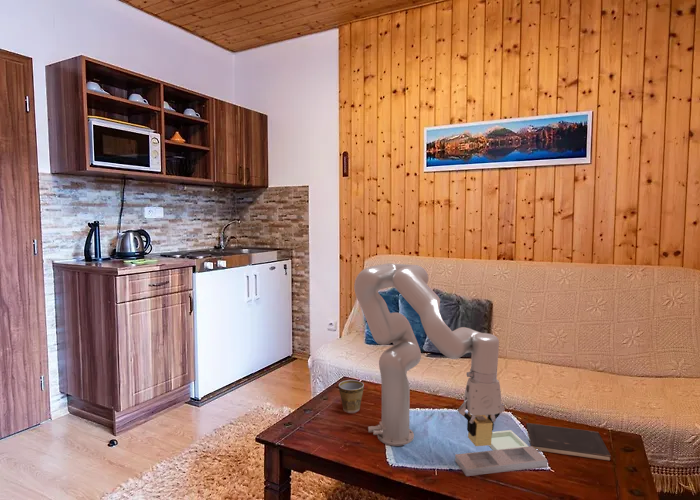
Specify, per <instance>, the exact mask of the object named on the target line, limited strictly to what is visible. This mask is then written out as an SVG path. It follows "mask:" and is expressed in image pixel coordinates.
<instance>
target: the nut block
mask: <svg viewBox="0 0 700 500" xmlns="http://www.w3.org/2000/svg"><path fill="white" fill-rule="evenodd" d="M474 423H475V435H474V436H472V435H471V434H470V433H469V432H468V431H467V432H468V433H467V438H468V439H469V440H470V441H471V443H472V444H473V445H474V446H475V447H485V446H489V445H491V439H492V432H493V430H492V424H493V423H492V422H491V421H490V420H489V419H488V418H487V417H486V416H485V415H479V416H476V417H475V420H474Z"/></svg>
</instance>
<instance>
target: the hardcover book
mask: <svg viewBox="0 0 700 500" xmlns="http://www.w3.org/2000/svg"><path fill="white" fill-rule="evenodd" d="M525 423H526V424H525V427H526V428H527V433H528V439H529V438H530V439H529V442H530V446H532V447H533V448H535V449H538V450H541V451H540V452H546V453H547V452H548V453H554V454H561V455H568V456H575V457H580V458H581V457H582V458H589V459H597V460H603V461H610V460H611V457H612V455H611V453H610V451H609V450H608V448H607V446H606V444H605V441H604V440H603V438H602V436H601V435H600V432H599V431H594V430H587V429H586V430H585V429H579V428H571V427H564V426H563V427H562V426H557V425H556V426H555V425H546V424H541V423H533V422H532V423H530V422H525ZM538 450H537V451H538Z"/></svg>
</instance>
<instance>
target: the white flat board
mask: <svg viewBox="0 0 700 500" xmlns="http://www.w3.org/2000/svg"><path fill="white" fill-rule="evenodd" d="M454 456H455V457H454V462H456V464H457V465H458V467H459V468H460V469H461V471H462V472H463V474H464V475H465V477H470V476H471V477H472V476H481V475H487V474H498V473H504V472H505V473H506V472H515V471H521V470H522V471H523V470H531V469H538V468H539V469H540V468H546V467H547V468H548V459H547V458H546V457H545V456H544V455H542V454H541V453H540V451H538V450H536V449H535V448H533V447H532V446H531V445H530V446H529V445H528V447H519V448H510V449H501V450H493V449H491V450H485V451H484V450H482V451H473V452H466V453H458V454H455V455H454Z"/></svg>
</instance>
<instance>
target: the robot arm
mask: <svg viewBox="0 0 700 500" xmlns="http://www.w3.org/2000/svg"><path fill="white" fill-rule="evenodd" d="M428 274H429V273H428V272H427V271H426V269H425V267H422V266H421V265H418V264H406V263H405V264H404V263H403V264H402V263H383V264H377V265H372V266H368V267H365V268H363V269H362V270H361V271H360V272H359V273H358V274H357V276H356V277H355V281H354V287H353V288H354V294H355V298H356V299H357V301H358V304H359V305H360V307H361V310H362V311H363V314H364V317H365V320H366V322H367V326H368V328H369V331H370V333H371V336H372V338H373V340H374V341H375V342H376V343H377V345H380V346H386V345H389V344H391V343H392V344H393V346H391V347H388V348H387V349H385V351H383V352H382V353H381V354H380V357H379V360H378V367H379V373H380V378H381V379H380V380H381V381H380V382H381V420H380V421H379V423H378V424H376V425H375V426H374V425H371V426H367V430H368V433H373V436H376V437H377V439H378V440H379V442H381V443H383V444H384V445H387V446H394V447H402V446H405V445H408V444H410V443H411V442H413V440H414V438H415V434H414V431H413V430H412V429H410V395H411V393H410V390H411V389H410V381H409V379H408V376H407V374H408V373H407V372H408V371H410V370H411V369H413V368H414V367H416V366H418V364H419V363H420V362H421V358H422V353H421V348H420V346H419V343H418V340H417V337H416V336H415V333H414V331H413V327H412V326H411V323H410V322H409V320H408V319H407V317H406V316H405V315H404V314H402V313H401V312H390V310H389V308H388V304H387V303H386V301H385V299H384V297H382V295H381V294H380V293H379V291H380V290H384V289H387V288H395V289H396V290H397V292H398V293H399V294H400V295H401V296H402V297H403V298H404V300H405V301H406V302H407V303H408V304H409V305H410V306H411V308H412V309H413V310H414V311H415V312H416V313H417V314H418V316H419V317H420V322H421V325H422V327H423V330H424V332H425V334H426V336H427V338H428V339H429V340H430V342H431V343H432V344H433V346H435V347H436V349H437V350H438V351H439V352H440V353H441V354H442V355H443V356H445V357H447V358H449V359H453V360H457V359H460V358H461V357H463V356H464V355H466V354H469V353H471V358H470V359H471V361H470V369H469V371H468V372H466V377H467V381H466V384H465V390H464V398H463V402H462V404H461V405H460V406H459V407H458V409H457V412H458V413H459V414H460V415H461V416H463V417H464V418H465V419H466V420H467V424H466V425H467V426H466V430H467V432H469V433H470V434H471V435H472V436H474V435H475V423H474V420H475V417H476V416H479V415H488V417H487V418H488V419H489V420H490V421H491V422H492V423H493V424H492V431H494V425H495V424H494V423H495V422H496V420H497V418H499V416H500V414H502V413H503V412H505V410H506V409H505V407H504V405H502V394H501V391H502V390H501V383H500V381H499V379H497V378H498V366H499V352H500V351H499V350H500V348H499V347H500V340H499V337H498V336H496V335H494V334H492V333H487V332H480V331H478V330H475V329H472V328H471V327H465V326H461V327H458V328H456V329H454V330H452V329H451V328H450V327H449V326H448V325H447V324H446V323H445V321H444V319H443V317H442V315H441V312H440V305H441V299H440V297H439V296H438V294H436V292H435V291H434V290H433V289H432V288H431V287H430V286H429V285H428V282H429V275H428ZM466 410H467V412H466Z"/></svg>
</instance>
